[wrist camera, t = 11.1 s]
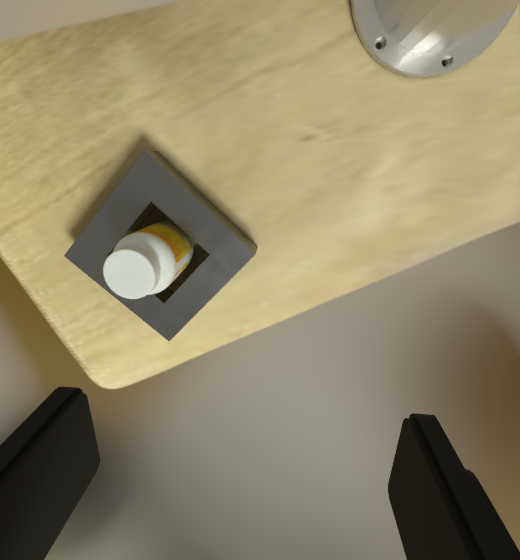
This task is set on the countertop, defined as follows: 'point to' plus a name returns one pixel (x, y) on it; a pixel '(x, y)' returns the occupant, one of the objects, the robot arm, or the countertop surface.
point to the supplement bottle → (148, 260)
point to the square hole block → (182, 211)
